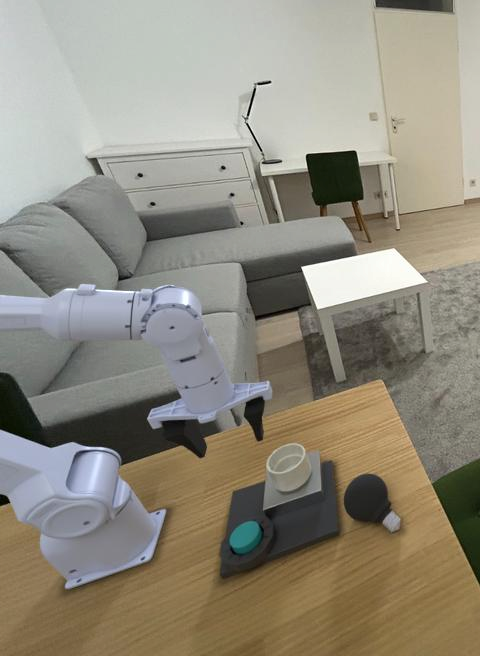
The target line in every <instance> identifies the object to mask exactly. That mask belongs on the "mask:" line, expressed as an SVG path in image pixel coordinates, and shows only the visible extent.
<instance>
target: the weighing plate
mask: <svg viewBox="0 0 480 656" xmlns="http://www.w3.org/2000/svg"><path fill="white" fill-rule="evenodd" d="M307 456H308V459H309V462H310V465H311V474H310V476H309V478H308V480H307V481H306V482H305V483H304V484H303V485H301V486H300V487H298V488H297V489H294V490H291V491H280V490H278V489H276V488H275V486H274V484H273V482H272V479H271V477H270V475H269V472H268V470H267V468H266V467H265V469H266V470H265V480H264V481H265V492H264V504H263V511H264V513H265V515H266V517H268V518H269V520H271V519H274V518H277V517H280V516H283V515H285V514H288V513H291V512H294V511H297V510H300V509H303V508H306V507H308V506H311V505H314V504H317V503H320V502H323V501H325V495H324V479H323V462H324V461H323V459H322V455H321V452H320V449H318V450H315V451H311V452H308V453H307Z"/></svg>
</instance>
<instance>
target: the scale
mask: <svg viewBox="0 0 480 656" xmlns="http://www.w3.org/2000/svg"><path fill="white" fill-rule="evenodd" d="M334 468H335V467H334V463H333V460H332V459H329V460H326V461H323V479H324V495H325V501H323V502H320V503H317V504H314V505H311V506H308V507H306V508H303V509H300V510H297V511H294V512H291V513H288V514H285V515H283V516H280V517H277V518H274V519H271V520H269V518H268V517H266V515H265V513H264V511H263V504H264V492H265V480H264V481H261V482H258V483H255V484H251V485H248V486H245V487H243V488H238V489H235V490H233V491H232V495H231V500H230V508H229V513H228V519H227V525H226V532H225V537H224V538H223V540H222V541H221V544H220V547H219V548H220V549H219V557H220V559H221V561H220V567H219V576H220V578H221V580H226V579H228V578H231V577H233V576H236V575H239V574H242V573H244V572H247V571H249V570H252V569H254V568H258V567H261V566H263V565H266V564H268V563H271V562H273V561H276V560H278V559H281V558H283V557H286V556H289V555H292V554H294V553H297V552H300V551H302V550H305V549H307V548H310V547H313V546H315V545H318V544H320V543H321V544H322V543H323V542H326V541H329V540H331V539H335V538H336V537H339V536H340V525H339V514H338V513H339V512H338V503H337V492H336V491H337V490H336V481H335V471H334V470H335V469H334ZM249 521H254V522H256V523H258V525H259V527H260V529H261V531H262V539H261V541H260V543H259V544H258V545H257V546H256V547H255V548H254V549H253V550H252V551H250V552H248V553H245V554H237V553H235V552H234V550H233V548H232V546H231V545H230V537H231V534H232V533H233V531H234V530H235V529H236V528H237V527H238V526H240V525H241V524H243V523H245V522H249Z"/></svg>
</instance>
